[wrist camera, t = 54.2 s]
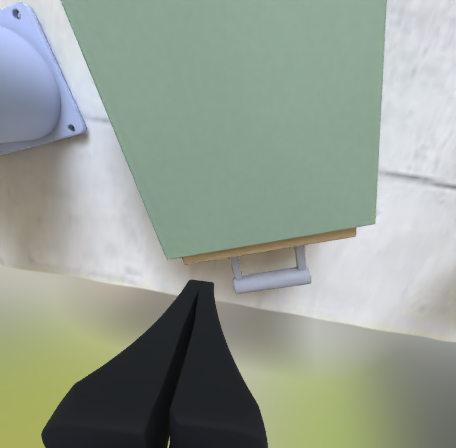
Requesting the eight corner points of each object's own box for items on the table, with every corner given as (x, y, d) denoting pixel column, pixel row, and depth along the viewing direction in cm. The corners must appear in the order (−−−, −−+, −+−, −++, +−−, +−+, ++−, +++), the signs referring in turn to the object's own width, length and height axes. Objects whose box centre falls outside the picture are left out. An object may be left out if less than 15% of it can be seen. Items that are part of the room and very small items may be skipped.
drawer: (329, 253, 21) (355, 293, 16) (210, 271, 22) (202, 314, 17) (317, 19, 14) (360, -35, 9) (146, 71, 15) (103, 49, 10)
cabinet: (329, 188, 19) (375, 224, 12) (189, 216, 21) (166, 260, 14) (320, -26, 13) (395, -159, 7) (130, 37, 15) (50, -24, 9)
